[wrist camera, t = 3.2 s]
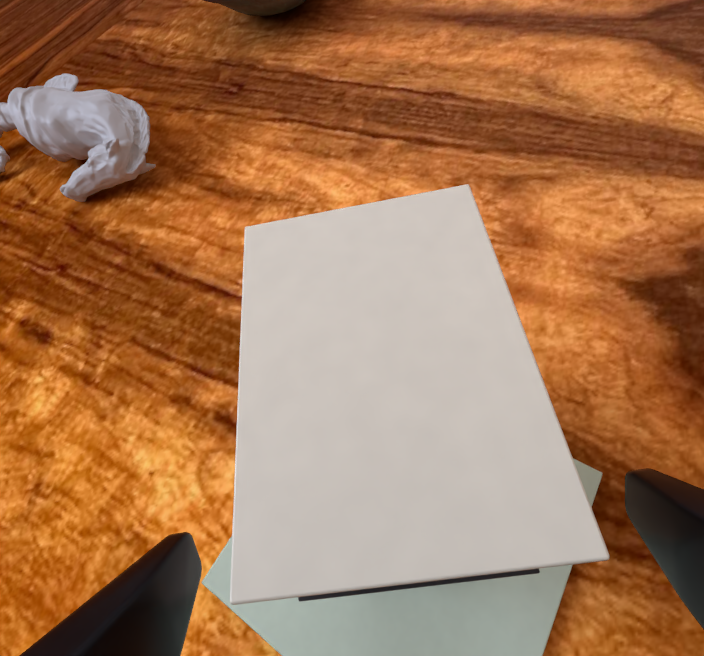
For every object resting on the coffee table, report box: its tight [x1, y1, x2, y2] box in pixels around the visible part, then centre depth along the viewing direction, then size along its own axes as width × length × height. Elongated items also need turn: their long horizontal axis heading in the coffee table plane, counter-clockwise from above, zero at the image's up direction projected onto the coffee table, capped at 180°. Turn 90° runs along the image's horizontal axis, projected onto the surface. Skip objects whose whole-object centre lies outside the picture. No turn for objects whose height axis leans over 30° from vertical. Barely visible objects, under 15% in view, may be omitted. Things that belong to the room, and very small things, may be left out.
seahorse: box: [0, 74, 156, 202], centre depth 32 cm, size 5×12×20 cm
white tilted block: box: [230, 185, 610, 605], centre depth 12 cm, size 5×7×12 cm
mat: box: [202, 459, 602, 656], centre depth 16 cm, size 12×12×1 cm
